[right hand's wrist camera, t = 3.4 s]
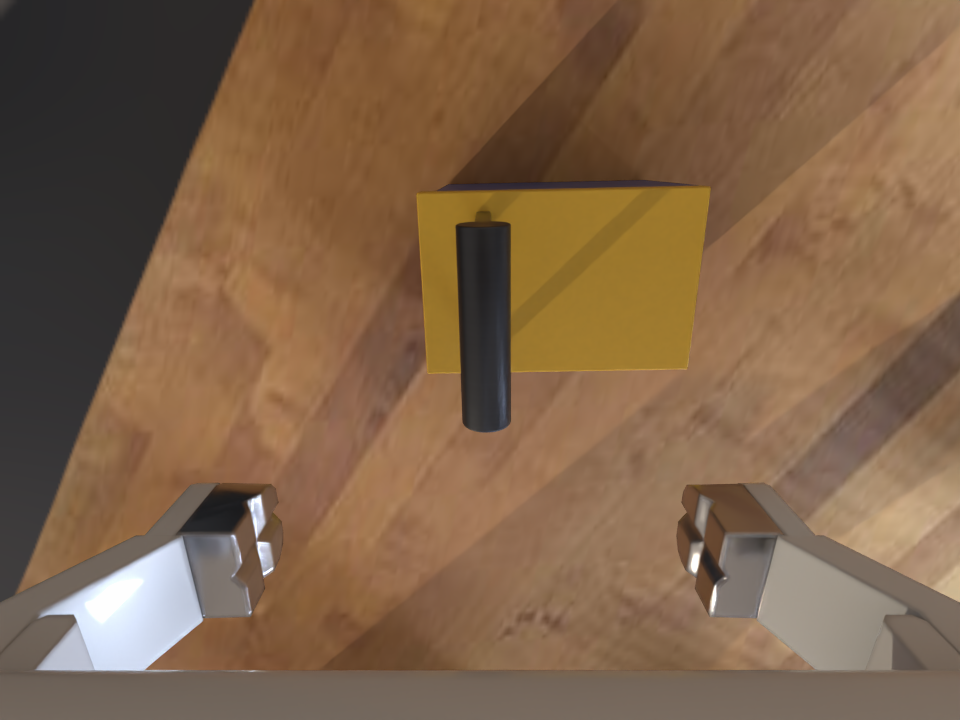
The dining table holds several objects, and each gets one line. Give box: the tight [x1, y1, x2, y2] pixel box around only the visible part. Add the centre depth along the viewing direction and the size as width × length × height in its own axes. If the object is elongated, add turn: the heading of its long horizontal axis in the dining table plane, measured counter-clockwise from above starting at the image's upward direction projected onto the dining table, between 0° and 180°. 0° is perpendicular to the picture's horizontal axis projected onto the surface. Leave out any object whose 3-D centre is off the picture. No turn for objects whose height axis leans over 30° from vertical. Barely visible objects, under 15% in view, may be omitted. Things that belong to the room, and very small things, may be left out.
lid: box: [416, 185, 711, 432], centre depth 23 cm, size 14×9×9 cm, turn 91°
